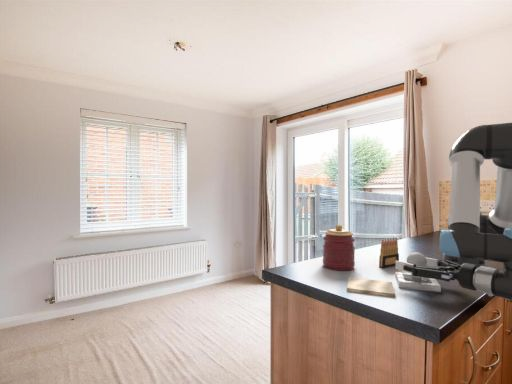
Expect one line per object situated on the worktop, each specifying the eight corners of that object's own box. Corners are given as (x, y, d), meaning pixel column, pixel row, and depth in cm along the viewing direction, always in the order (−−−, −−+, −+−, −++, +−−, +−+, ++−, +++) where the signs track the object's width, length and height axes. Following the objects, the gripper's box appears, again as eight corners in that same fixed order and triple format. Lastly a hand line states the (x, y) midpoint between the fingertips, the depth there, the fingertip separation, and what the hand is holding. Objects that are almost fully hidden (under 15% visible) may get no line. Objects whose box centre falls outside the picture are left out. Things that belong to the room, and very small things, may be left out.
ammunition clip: (382, 268, 120) (383, 239, 119) (378, 267, 121) (379, 238, 121) (399, 265, 125) (399, 237, 125) (395, 264, 126) (395, 236, 126)
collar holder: (432, 281, 103) (432, 275, 103) (440, 292, 92) (440, 286, 92) (395, 277, 108) (395, 271, 108) (398, 287, 96) (399, 281, 96)
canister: (360, 266, 122) (360, 224, 122) (346, 273, 112) (346, 227, 112) (331, 261, 131) (332, 222, 131) (316, 266, 121) (317, 224, 121)
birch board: (391, 284, 99) (391, 282, 99) (395, 297, 88) (395, 293, 88) (348, 280, 104) (348, 277, 104) (346, 291, 93) (346, 287, 93)
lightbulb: (402, 281, 103) (403, 250, 103) (419, 281, 103) (419, 250, 103) (413, 287, 97) (414, 254, 96) (430, 287, 97) (431, 254, 97)
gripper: (457, 299, 78) (385, 278, 96) (496, 284, 91) (426, 267, 109) (457, 271, 78) (386, 255, 96) (496, 260, 91) (427, 247, 109)
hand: (407, 262), depth 103 cm, fingers open, 13 cm apart
